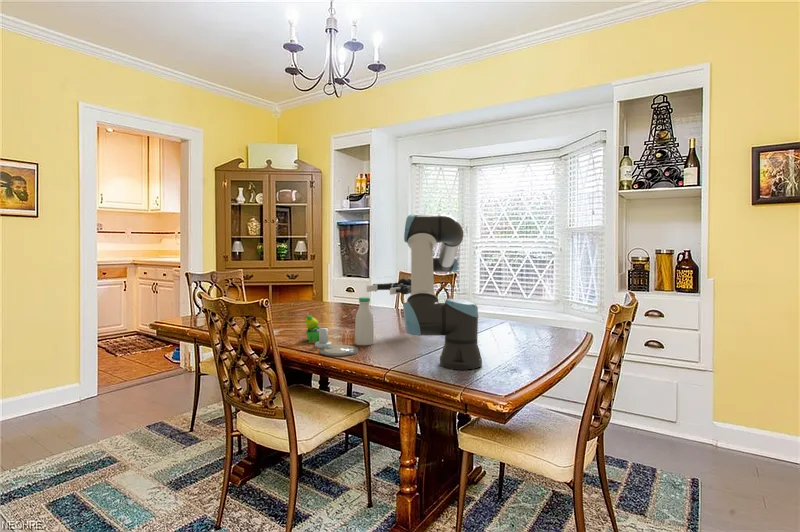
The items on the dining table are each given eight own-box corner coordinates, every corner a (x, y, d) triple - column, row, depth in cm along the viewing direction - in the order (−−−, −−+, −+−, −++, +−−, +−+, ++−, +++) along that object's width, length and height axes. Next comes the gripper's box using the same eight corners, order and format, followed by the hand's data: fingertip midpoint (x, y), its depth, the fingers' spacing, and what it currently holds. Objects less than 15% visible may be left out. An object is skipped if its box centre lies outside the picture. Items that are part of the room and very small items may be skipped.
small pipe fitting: (334, 347, 188) (334, 329, 188) (318, 349, 185) (318, 330, 184) (328, 343, 194) (328, 326, 194) (312, 345, 191) (312, 327, 190)
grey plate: (364, 353, 178) (364, 350, 178) (328, 358, 170) (328, 354, 170) (348, 346, 191) (348, 342, 190) (314, 350, 183) (314, 346, 183)
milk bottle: (372, 346, 191) (372, 298, 190) (354, 345, 191) (354, 298, 190) (373, 341, 199) (374, 296, 197) (356, 341, 199) (356, 296, 198)
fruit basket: (323, 343, 195) (323, 317, 194) (302, 343, 195) (302, 317, 194) (328, 338, 206) (328, 313, 205) (308, 337, 206) (308, 313, 206)
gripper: (429, 296, 210) (400, 301, 193) (387, 291, 225) (358, 295, 208) (429, 280, 209) (400, 283, 192) (387, 276, 225) (358, 279, 208)
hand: (378, 290), depth 200 cm, fingers open, 13 cm apart
